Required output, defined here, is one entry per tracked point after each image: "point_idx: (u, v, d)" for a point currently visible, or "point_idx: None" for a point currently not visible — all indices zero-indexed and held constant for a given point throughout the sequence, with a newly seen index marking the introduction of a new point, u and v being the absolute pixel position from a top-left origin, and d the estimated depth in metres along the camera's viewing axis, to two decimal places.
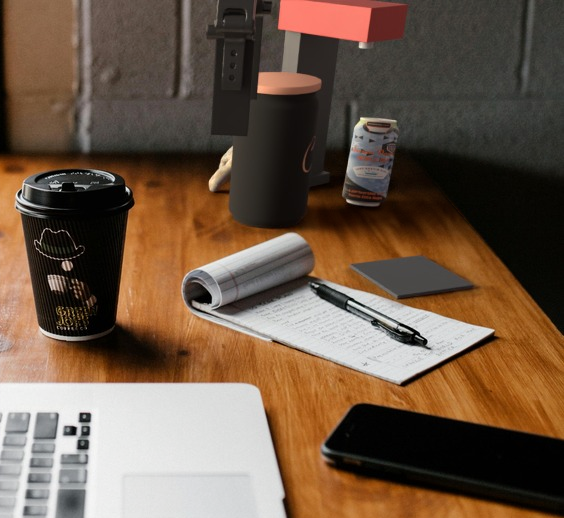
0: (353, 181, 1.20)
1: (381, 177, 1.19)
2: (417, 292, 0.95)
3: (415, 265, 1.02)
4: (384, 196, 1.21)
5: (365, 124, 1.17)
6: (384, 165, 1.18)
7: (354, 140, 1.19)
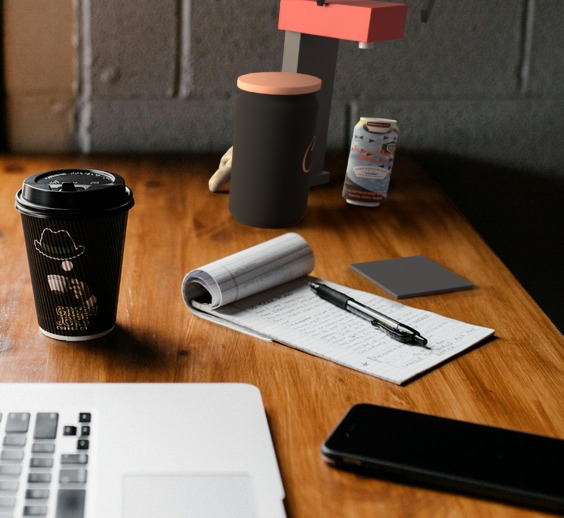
0: (353, 181, 1.20)
1: (381, 177, 1.19)
2: (417, 292, 0.95)
3: (415, 265, 1.02)
4: (384, 196, 1.21)
5: (365, 124, 1.17)
6: (384, 165, 1.18)
7: (354, 140, 1.19)
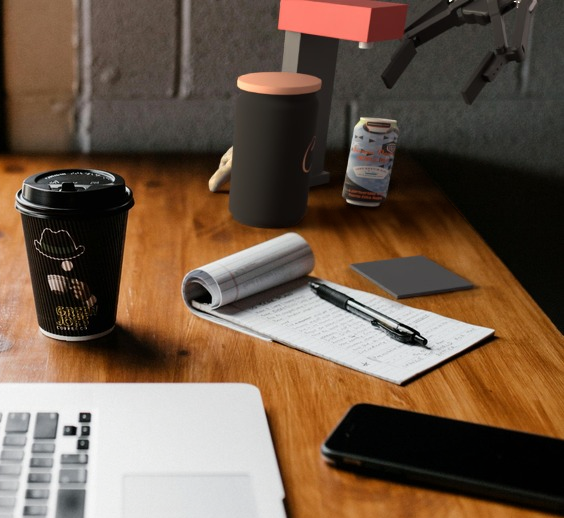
0: (353, 181, 1.20)
1: (381, 177, 1.19)
2: (417, 292, 0.95)
3: (415, 265, 1.02)
4: (384, 196, 1.21)
5: (365, 124, 1.17)
6: (384, 165, 1.18)
7: (354, 140, 1.19)
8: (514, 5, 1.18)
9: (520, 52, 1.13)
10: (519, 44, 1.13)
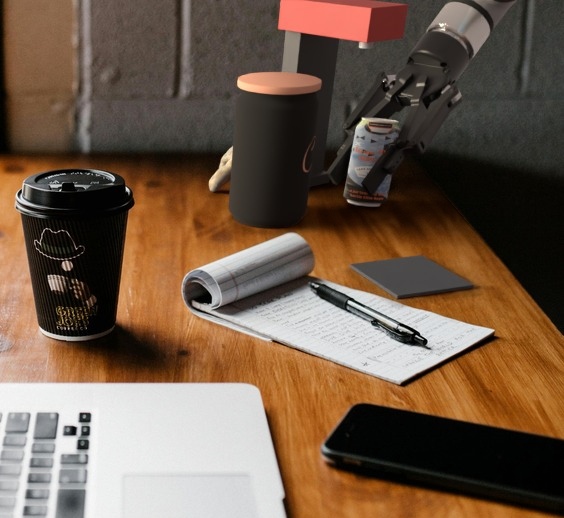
0: (354, 181, 1.20)
1: None
2: (417, 292, 0.95)
3: (415, 265, 1.02)
4: (385, 196, 1.21)
5: (367, 124, 1.17)
6: None
7: (356, 140, 1.19)
8: None
9: (416, 148, 1.16)
10: (417, 140, 1.15)
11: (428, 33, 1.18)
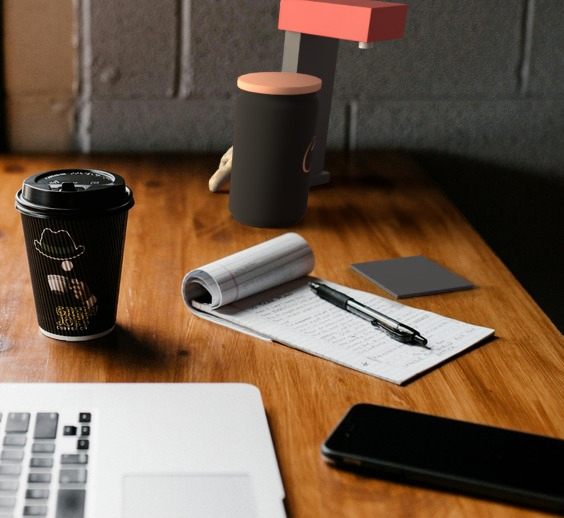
0: None
1: None
2: (417, 292, 0.95)
3: (415, 265, 1.02)
4: None
5: None
6: None
7: None
8: None
9: None
10: None
11: None
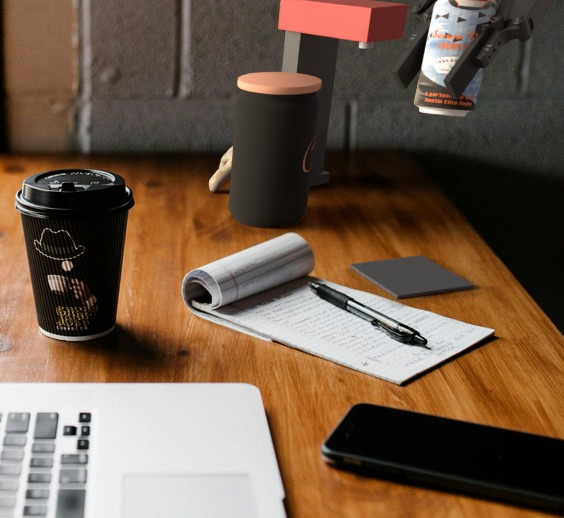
0: (432, 79, 0.86)
1: None
2: (417, 292, 0.95)
3: (415, 265, 1.02)
4: (474, 102, 0.87)
5: None
6: None
7: (435, 21, 0.85)
8: None
9: (523, 28, 0.82)
10: (524, 17, 0.82)
11: None
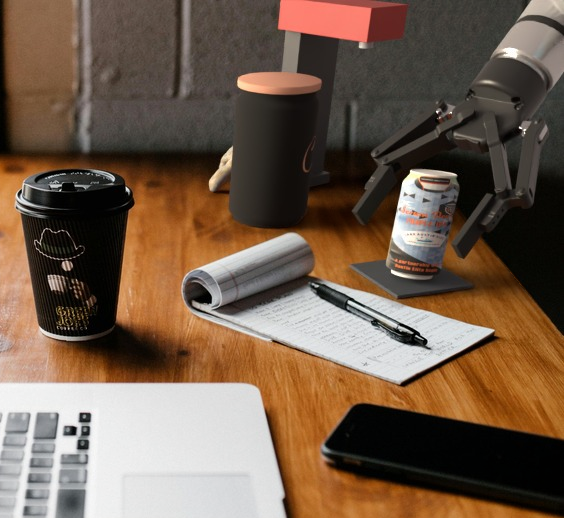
0: (401, 249, 0.96)
1: (436, 245, 0.95)
2: (417, 292, 0.95)
3: None
4: (439, 267, 0.97)
5: (418, 179, 0.93)
6: (441, 230, 0.94)
7: (403, 198, 0.95)
8: (519, 132, 0.93)
9: (527, 197, 0.89)
10: (526, 188, 0.88)
11: (495, 60, 0.94)
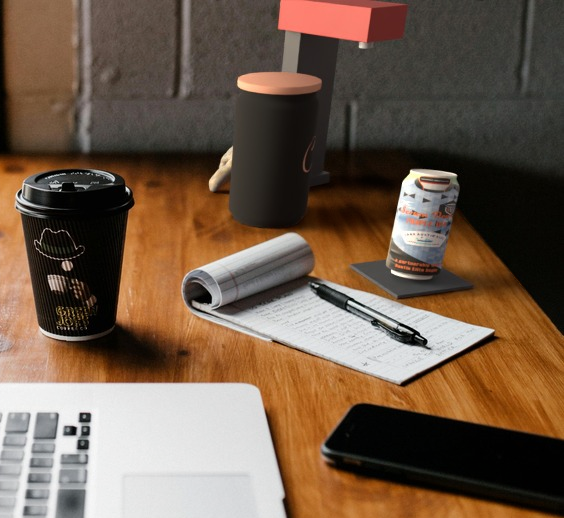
0: (401, 249, 0.96)
1: (436, 245, 0.95)
2: (417, 292, 0.95)
3: None
4: (439, 267, 0.97)
5: (418, 179, 0.93)
6: (441, 230, 0.94)
7: (403, 198, 0.95)
8: None
9: None
10: None
11: None
